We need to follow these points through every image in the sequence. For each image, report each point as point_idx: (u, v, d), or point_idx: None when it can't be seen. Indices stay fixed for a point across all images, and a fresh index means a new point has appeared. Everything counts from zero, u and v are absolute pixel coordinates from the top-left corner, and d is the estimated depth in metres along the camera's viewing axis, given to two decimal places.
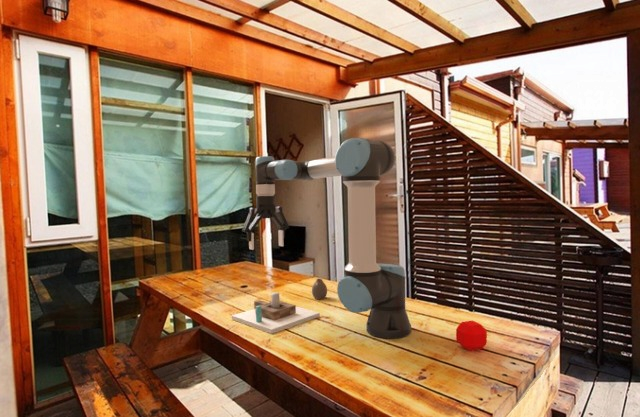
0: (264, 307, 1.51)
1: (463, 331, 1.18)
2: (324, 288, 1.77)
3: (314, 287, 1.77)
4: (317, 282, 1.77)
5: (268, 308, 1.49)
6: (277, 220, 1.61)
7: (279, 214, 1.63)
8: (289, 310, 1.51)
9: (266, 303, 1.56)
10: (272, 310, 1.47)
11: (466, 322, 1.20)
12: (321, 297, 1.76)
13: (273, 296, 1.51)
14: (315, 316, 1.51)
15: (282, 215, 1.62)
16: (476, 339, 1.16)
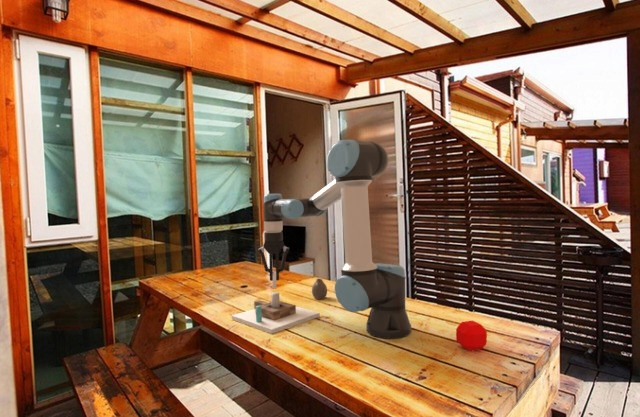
0: (264, 307, 1.51)
1: (463, 331, 1.18)
2: (324, 288, 1.77)
3: (314, 287, 1.77)
4: (317, 282, 1.77)
5: (268, 308, 1.49)
6: (277, 259, 1.61)
7: (283, 254, 1.62)
8: (289, 310, 1.51)
9: (266, 303, 1.56)
10: (272, 310, 1.47)
11: (466, 322, 1.20)
12: (321, 297, 1.76)
13: (273, 296, 1.51)
14: (315, 316, 1.51)
15: (284, 256, 1.61)
16: (476, 339, 1.16)
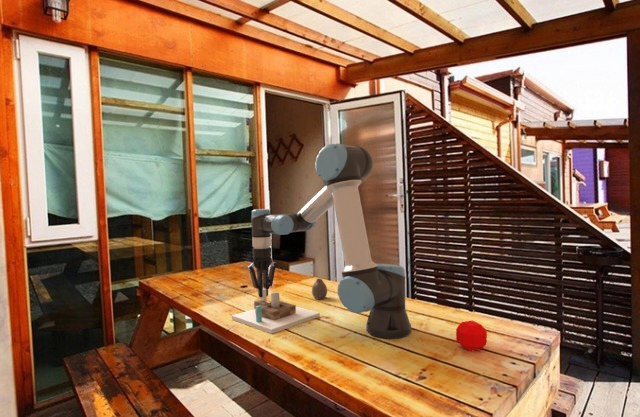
0: (264, 307, 1.51)
1: (463, 331, 1.18)
2: (324, 288, 1.77)
3: (314, 287, 1.77)
4: (317, 282, 1.77)
5: (268, 308, 1.49)
6: (266, 275, 1.60)
7: (271, 269, 1.63)
8: (289, 310, 1.51)
9: (266, 303, 1.56)
10: (272, 310, 1.47)
11: (466, 322, 1.20)
12: (321, 297, 1.76)
13: (273, 296, 1.51)
14: (315, 316, 1.51)
15: (273, 271, 1.62)
16: (476, 339, 1.16)
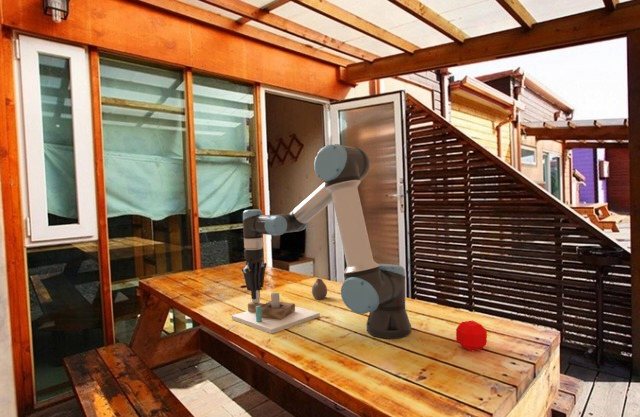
0: (265, 308, 1.50)
1: (463, 331, 1.18)
2: (324, 288, 1.77)
3: (314, 287, 1.77)
4: (317, 282, 1.77)
5: (271, 308, 1.49)
6: (259, 276, 1.58)
7: (261, 270, 1.61)
8: (291, 308, 1.52)
9: (263, 304, 1.55)
10: (277, 310, 1.47)
11: (466, 322, 1.20)
12: (321, 297, 1.76)
13: (273, 296, 1.51)
14: (315, 316, 1.51)
15: (263, 272, 1.61)
16: (476, 339, 1.16)
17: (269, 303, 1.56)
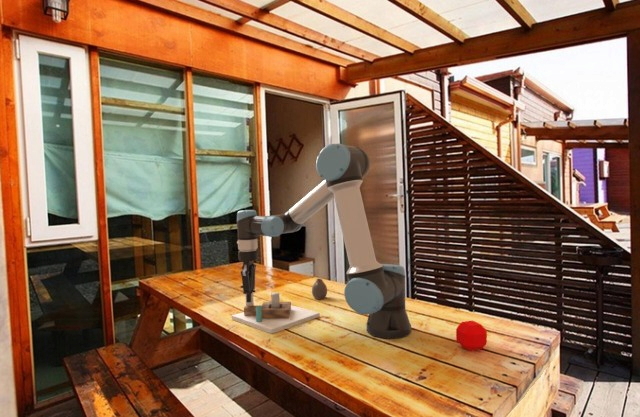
0: (268, 309, 1.48)
1: (463, 331, 1.18)
2: (324, 288, 1.77)
3: (314, 287, 1.77)
4: (317, 282, 1.77)
5: (275, 308, 1.49)
6: (252, 278, 1.55)
7: None
8: (290, 306, 1.55)
9: (261, 306, 1.52)
10: (283, 309, 1.48)
11: (466, 322, 1.20)
12: (321, 297, 1.76)
13: (273, 296, 1.51)
14: (315, 316, 1.51)
15: (254, 273, 1.58)
16: (476, 339, 1.16)
17: (265, 304, 1.54)
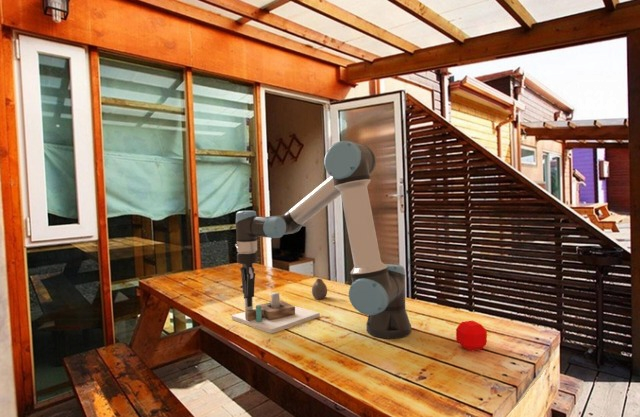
0: (275, 309, 1.48)
1: (463, 331, 1.18)
2: (324, 288, 1.77)
3: (314, 287, 1.77)
4: (317, 282, 1.77)
5: (281, 308, 1.49)
6: None
7: None
8: None
9: (262, 308, 1.49)
10: (289, 307, 1.51)
11: (466, 322, 1.20)
12: (321, 297, 1.76)
13: (273, 296, 1.51)
14: (315, 316, 1.51)
15: None
16: (476, 339, 1.16)
17: (263, 306, 1.52)
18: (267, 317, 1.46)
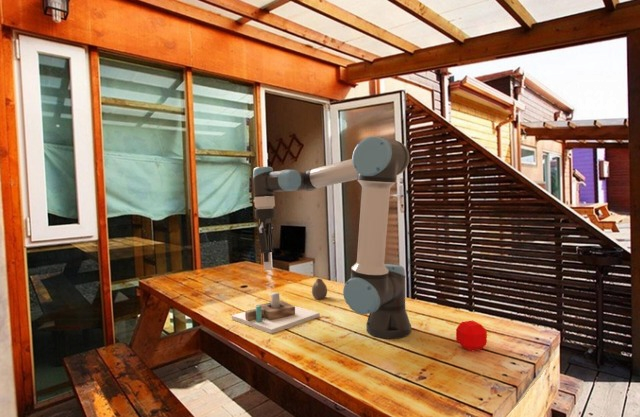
0: (275, 309, 1.48)
1: (463, 331, 1.18)
2: (324, 288, 1.77)
3: (314, 287, 1.77)
4: (317, 282, 1.77)
5: (281, 308, 1.49)
6: (270, 238, 1.50)
7: None
8: None
9: (262, 308, 1.49)
10: (289, 307, 1.51)
11: (466, 322, 1.20)
12: (321, 297, 1.76)
13: (273, 296, 1.51)
14: (315, 316, 1.51)
15: (272, 234, 1.53)
16: (476, 339, 1.16)
17: (263, 306, 1.52)
18: (267, 317, 1.46)
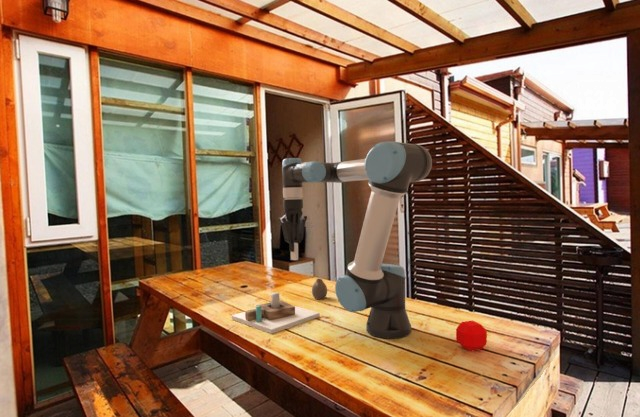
0: (275, 309, 1.48)
1: (463, 331, 1.18)
2: (324, 288, 1.77)
3: (314, 287, 1.77)
4: (317, 282, 1.77)
5: (281, 308, 1.49)
6: (298, 228, 1.52)
7: (301, 222, 1.55)
8: None
9: (262, 308, 1.49)
10: (289, 307, 1.51)
11: (466, 322, 1.20)
12: (321, 297, 1.76)
13: (273, 296, 1.51)
14: (315, 316, 1.51)
15: (303, 225, 1.54)
16: (476, 339, 1.16)
17: (263, 306, 1.52)
18: (267, 317, 1.46)
